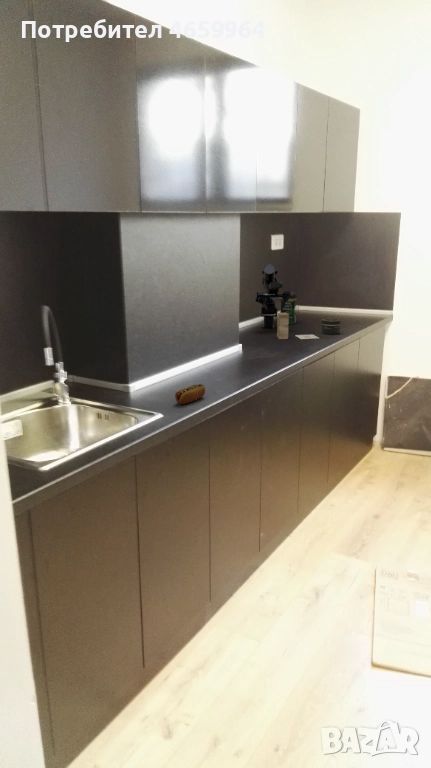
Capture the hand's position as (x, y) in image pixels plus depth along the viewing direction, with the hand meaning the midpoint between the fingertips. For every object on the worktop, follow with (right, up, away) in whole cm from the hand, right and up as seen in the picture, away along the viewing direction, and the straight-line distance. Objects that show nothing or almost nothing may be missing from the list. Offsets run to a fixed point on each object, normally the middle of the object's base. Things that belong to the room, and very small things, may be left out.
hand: (275, 308), depth 307 cm
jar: (+30, -13, +4) cm, 33 cm away
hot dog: (-41, -46, -108) cm, 124 cm away
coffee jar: (+11, -4, +35) cm, 37 cm away
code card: (+16, -15, -5) cm, 23 cm away
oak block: (+3, -16, -7) cm, 18 cm away
